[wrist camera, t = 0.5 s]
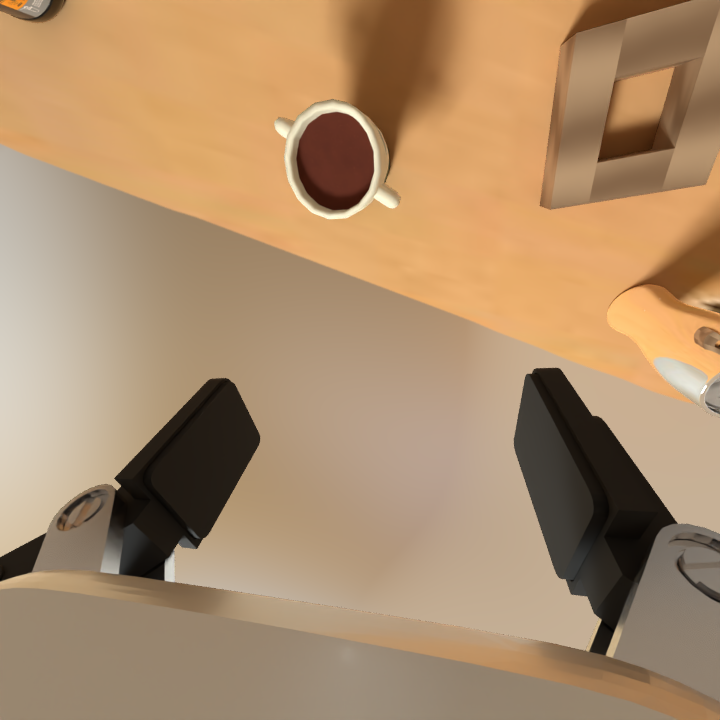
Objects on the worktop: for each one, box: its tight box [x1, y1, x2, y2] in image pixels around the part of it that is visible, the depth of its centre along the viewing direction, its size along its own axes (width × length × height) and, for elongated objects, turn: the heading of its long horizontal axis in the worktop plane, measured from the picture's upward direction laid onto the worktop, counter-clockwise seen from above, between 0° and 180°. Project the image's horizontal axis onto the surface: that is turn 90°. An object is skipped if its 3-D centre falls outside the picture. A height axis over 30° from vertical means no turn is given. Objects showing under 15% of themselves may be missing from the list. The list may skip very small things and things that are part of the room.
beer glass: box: [607, 284, 720, 418], centre depth 29 cm, size 7×7×15 cm
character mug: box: [274, 99, 401, 219], centre depth 26 cm, size 11×7×13 cm, turn 61°
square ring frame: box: [540, 0, 720, 210], centre depth 25 cm, size 12×12×3 cm
